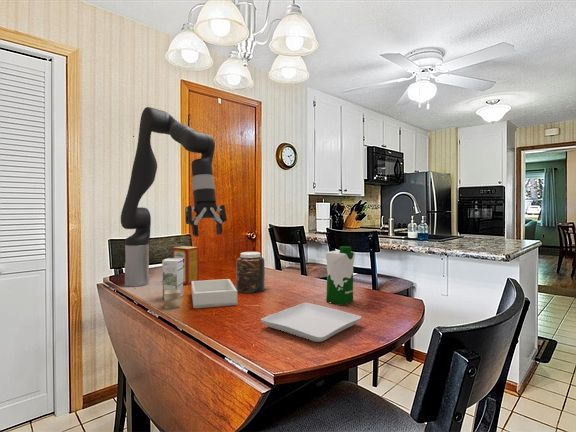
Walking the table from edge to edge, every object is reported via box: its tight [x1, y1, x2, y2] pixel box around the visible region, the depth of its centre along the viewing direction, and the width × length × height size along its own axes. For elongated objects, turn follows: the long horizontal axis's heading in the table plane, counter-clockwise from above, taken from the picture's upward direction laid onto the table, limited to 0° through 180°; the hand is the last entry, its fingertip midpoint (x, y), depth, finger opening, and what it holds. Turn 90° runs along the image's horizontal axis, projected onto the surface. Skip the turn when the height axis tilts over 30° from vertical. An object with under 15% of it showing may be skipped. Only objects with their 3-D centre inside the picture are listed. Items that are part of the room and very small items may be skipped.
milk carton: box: [325, 245, 356, 306], centre depth 124 cm, size 9×9×20 cm
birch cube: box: [164, 290, 181, 309], centre depth 118 cm, size 5×5×5 cm
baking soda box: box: [172, 245, 200, 286], centre depth 154 cm, size 10×6×16 cm
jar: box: [235, 251, 266, 294], centre depth 141 cm, size 12×12×15 cm
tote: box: [190, 278, 238, 309], centre depth 127 cm, size 15×20×5 cm
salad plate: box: [260, 302, 362, 343], centre depth 98 cm, size 21×21×3 cm
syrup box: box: [161, 257, 184, 300], centre depth 128 cm, size 6×6×14 cm
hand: (208, 235), depth 119 cm, fingers open, 8 cm apart
